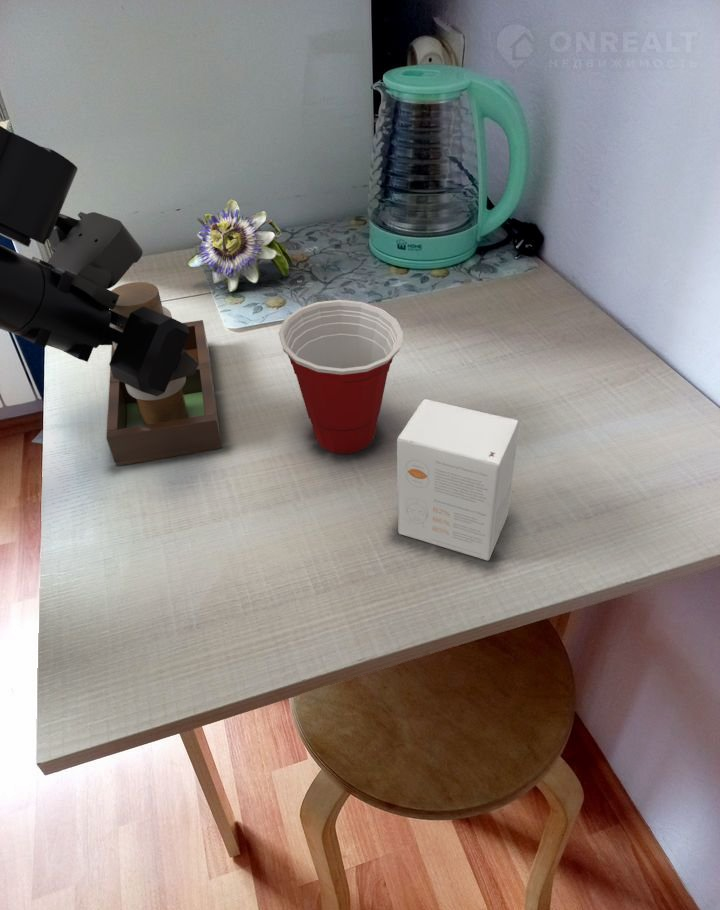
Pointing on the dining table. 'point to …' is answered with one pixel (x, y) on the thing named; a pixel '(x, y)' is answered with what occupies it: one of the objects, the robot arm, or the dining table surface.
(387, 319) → the plastic cup
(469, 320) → the dining table surface
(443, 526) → the small box
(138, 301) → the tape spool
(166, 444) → the tray
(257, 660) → the dining table surface
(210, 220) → the passion flower
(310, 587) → the dining table surface
